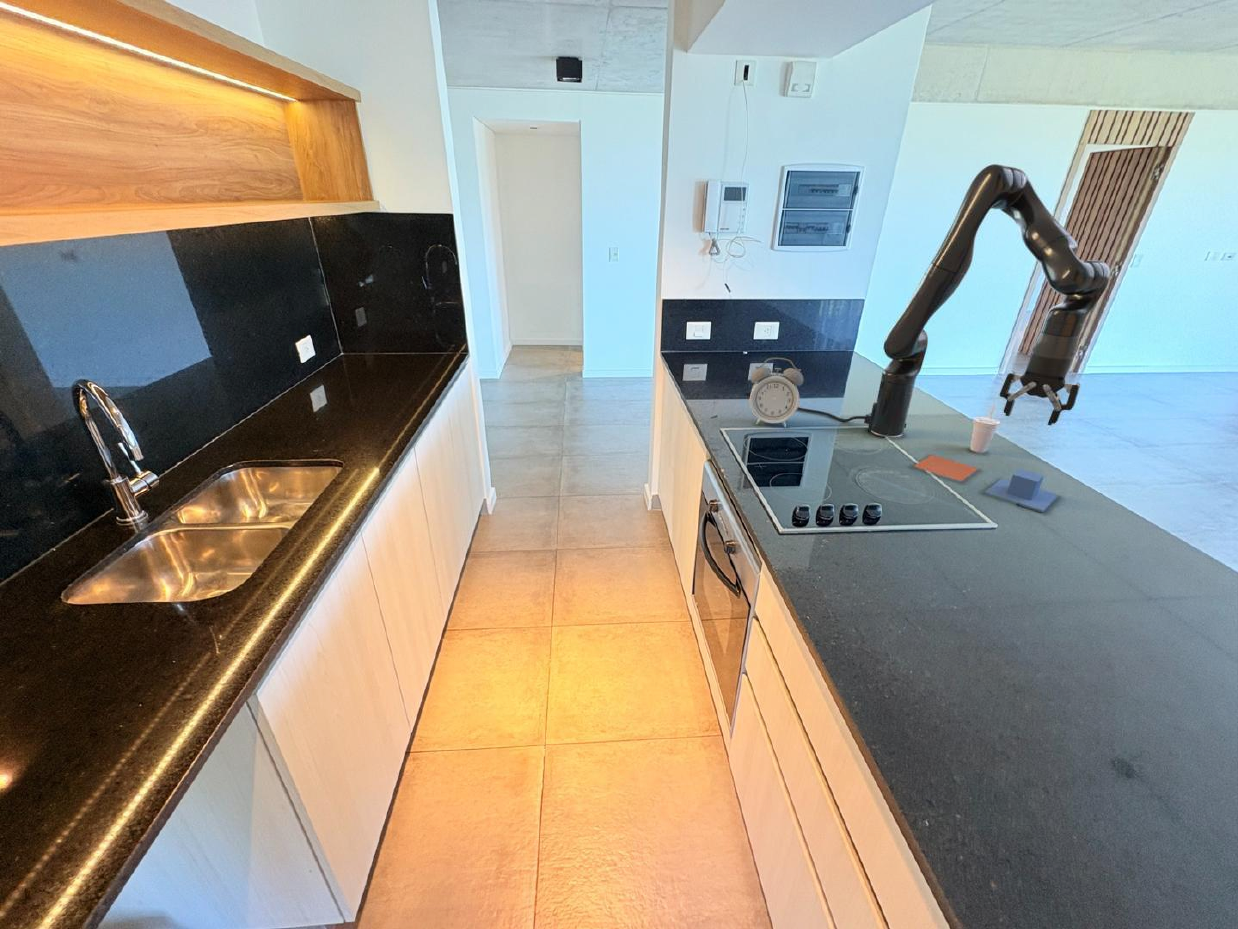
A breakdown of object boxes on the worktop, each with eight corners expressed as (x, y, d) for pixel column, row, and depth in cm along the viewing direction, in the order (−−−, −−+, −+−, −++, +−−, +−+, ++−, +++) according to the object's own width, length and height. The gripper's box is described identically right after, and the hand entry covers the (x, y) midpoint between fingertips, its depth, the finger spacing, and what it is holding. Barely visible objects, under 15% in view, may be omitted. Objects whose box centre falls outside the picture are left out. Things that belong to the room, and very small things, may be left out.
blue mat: (983, 494, 130) (984, 491, 129) (1001, 480, 137) (1001, 478, 136) (1042, 512, 121) (1043, 510, 121) (1057, 497, 128) (1058, 494, 128)
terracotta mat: (912, 468, 144) (913, 466, 143) (931, 456, 150) (932, 454, 150) (960, 483, 135) (961, 481, 135) (978, 470, 142) (979, 468, 142)
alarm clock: (745, 425, 174) (752, 359, 165) (746, 416, 182) (753, 353, 172) (797, 429, 170) (807, 362, 161) (796, 421, 178) (805, 356, 168)
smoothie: (994, 456, 150) (1009, 410, 144) (969, 455, 151) (983, 408, 145) (985, 448, 156) (999, 402, 150) (961, 446, 157) (974, 401, 151)
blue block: (1006, 492, 129) (1012, 474, 127) (1013, 487, 132) (1019, 468, 130) (1030, 500, 125) (1037, 481, 123) (1037, 494, 128) (1044, 475, 126)
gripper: (1094, 356, 118) (1067, 424, 125) (1019, 345, 128) (998, 409, 135) (1089, 362, 114) (1061, 432, 121) (1011, 350, 123) (990, 415, 130)
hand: (1028, 419), depth 128 cm, fingers open, 8 cm apart
